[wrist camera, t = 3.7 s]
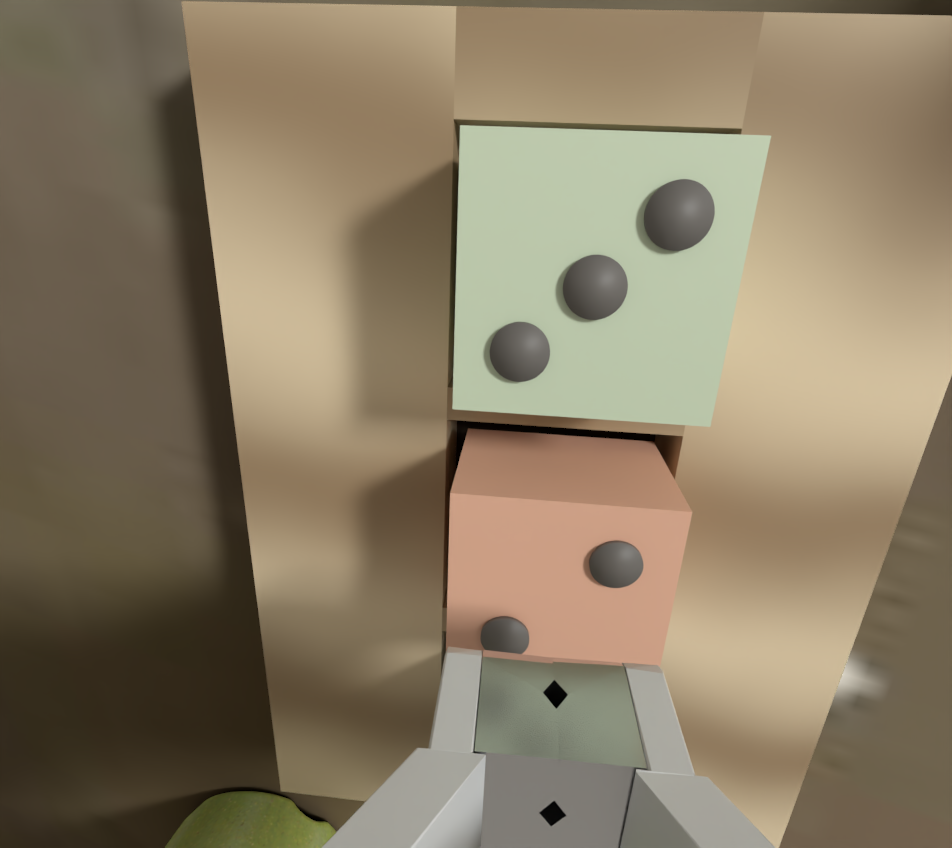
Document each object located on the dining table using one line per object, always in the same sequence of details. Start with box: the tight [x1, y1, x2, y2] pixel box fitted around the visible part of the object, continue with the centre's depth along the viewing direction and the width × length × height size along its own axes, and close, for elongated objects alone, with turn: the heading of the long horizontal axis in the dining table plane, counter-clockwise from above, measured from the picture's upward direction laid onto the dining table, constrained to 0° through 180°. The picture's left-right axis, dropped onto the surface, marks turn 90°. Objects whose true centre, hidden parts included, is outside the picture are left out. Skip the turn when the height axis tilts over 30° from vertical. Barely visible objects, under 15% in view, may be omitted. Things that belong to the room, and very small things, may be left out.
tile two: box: [446, 428, 692, 667], centre depth 11 cm, size 4×4×3 cm
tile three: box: [452, 125, 771, 427], centre depth 9 cm, size 4×4×3 cm
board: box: [182, 1, 952, 848], centre depth 13 cm, size 19×14×2 cm
